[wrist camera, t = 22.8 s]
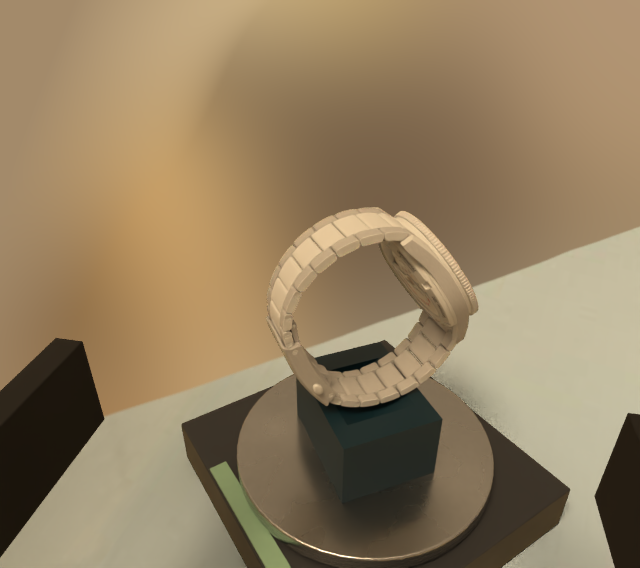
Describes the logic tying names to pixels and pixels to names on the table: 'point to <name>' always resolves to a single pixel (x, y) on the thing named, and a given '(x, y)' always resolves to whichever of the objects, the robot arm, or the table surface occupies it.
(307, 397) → the watch
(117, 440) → the table surface
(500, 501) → the scale
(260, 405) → the scale pan
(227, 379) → the table surface
